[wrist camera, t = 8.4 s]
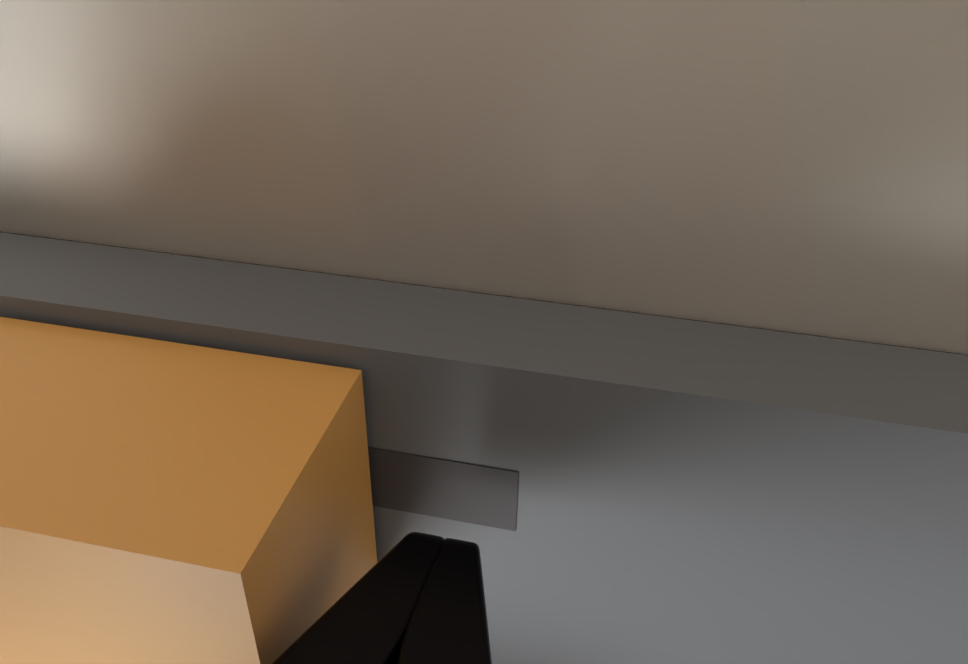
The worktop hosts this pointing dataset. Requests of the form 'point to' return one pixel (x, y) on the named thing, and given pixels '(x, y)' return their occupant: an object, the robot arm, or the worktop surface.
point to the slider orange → (173, 498)
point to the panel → (604, 455)
